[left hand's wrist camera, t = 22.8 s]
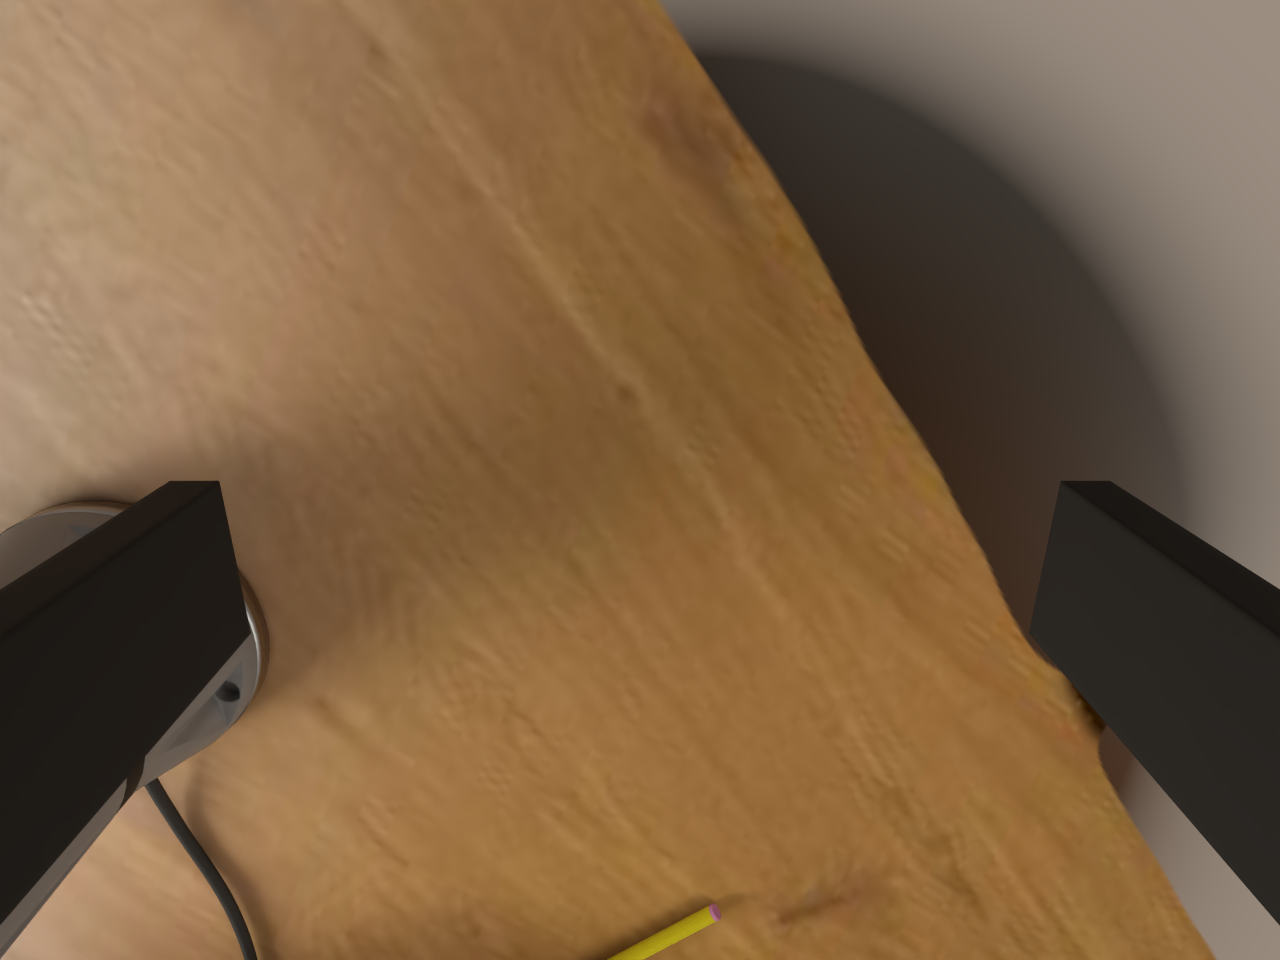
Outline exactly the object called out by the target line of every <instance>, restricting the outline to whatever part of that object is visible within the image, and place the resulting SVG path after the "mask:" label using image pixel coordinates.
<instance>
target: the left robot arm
mask: <svg viewBox="0 0 1280 960" xmlns="http://www.w3.org/2000/svg"><path fill="white" fill-rule="evenodd" d="M1029 634H1030V635H1031V636H1032V637H1033V639H1034V640H1035V641H1036V642H1037V643H1038V644H1039V646H1040V647H1041V648H1042V649H1043V650H1044V651H1045V653H1046V654H1047V655H1048V656H1049V657H1050V658H1051V660H1052V661H1053V662H1054V663H1055V664H1056V665H1057V667H1058V668H1059V669H1060V670H1061V671H1062V672H1063V674H1064V675H1065V676H1066V677H1067V678H1068V679H1069V681H1070V682H1071V683H1072V684H1073V685H1074V686H1075V688H1076V689H1077V690H1078V691H1079V692H1080V693H1081V695H1082V696H1083V697H1084V698H1085V699H1086V700H1087V702H1088V703H1089V704H1090V705H1091V706H1092V707H1093V709H1094V710H1095V711H1096V712H1097V713H1098V714H1099V715H1100V717H1101V718H1102V719H1103V720H1104V721H1105V722H1106V724H1107V725H1108V726H1109V727H1110V728H1111V729H1112V731H1113V732H1114V733H1115V734H1116V735H1117V736H1118V738H1119V739H1120V740H1121V741H1122V742H1123V743H1124V745H1125V746H1126V747H1127V748H1128V749H1129V750H1130V752H1131V753H1132V754H1133V755H1134V756H1135V757H1136V759H1137V760H1138V761H1139V762H1140V763H1141V764H1142V765H1143V767H1144V768H1145V769H1146V770H1147V771H1148V773H1149V774H1150V775H1151V776H1152V777H1153V778H1154V780H1155V781H1156V782H1157V783H1158V784H1159V785H1160V786H1161V788H1162V789H1163V790H1164V791H1165V792H1166V794H1167V795H1168V796H1169V797H1170V798H1171V799H1172V800H1173V802H1174V803H1175V804H1176V805H1177V806H1178V807H1179V809H1180V810H1181V811H1182V812H1183V813H1184V814H1185V816H1186V817H1187V818H1188V819H1189V820H1190V821H1191V823H1192V824H1193V825H1194V826H1195V827H1196V828H1197V830H1198V831H1199V832H1200V833H1201V834H1202V835H1203V837H1204V838H1205V839H1206V840H1207V841H1208V842H1209V844H1210V845H1211V846H1212V847H1213V848H1214V849H1215V851H1216V852H1217V853H1218V854H1219V855H1220V856H1221V858H1222V859H1223V860H1224V861H1225V862H1226V863H1227V865H1228V866H1229V867H1230V868H1231V869H1232V870H1233V872H1234V873H1235V874H1236V875H1237V876H1238V877H1239V879H1240V880H1241V881H1242V882H1243V883H1244V884H1245V885H1246V887H1247V888H1248V889H1249V890H1250V891H1251V892H1252V894H1253V895H1254V896H1255V897H1256V898H1257V899H1258V901H1259V902H1260V903H1261V904H1262V905H1263V906H1264V908H1265V909H1266V910H1267V911H1268V912H1269V913H1270V915H1271V916H1272V917H1273V918H1274V919H1275V920H1276V922H1277V923H1278V924H1279V925H1280V589H1278V588H1277V587H1275V586H1273V585H1272V584H1270V583H1269V582H1267V581H1266V580H1264V579H1263V578H1261V577H1259V576H1258V575H1256V574H1255V573H1253V572H1252V571H1250V570H1248V569H1247V568H1245V567H1244V566H1242V565H1241V564H1239V563H1237V562H1236V561H1234V560H1233V559H1231V558H1230V557H1228V556H1227V555H1225V554H1223V553H1222V552H1220V551H1219V550H1217V549H1216V548H1214V547H1212V546H1211V545H1209V544H1208V543H1206V542H1205V541H1203V540H1202V539H1200V538H1198V537H1197V536H1195V535H1194V534H1192V533H1191V532H1189V531H1187V530H1186V529H1184V528H1183V527H1181V526H1180V525H1178V524H1177V523H1175V522H1173V521H1172V520H1170V519H1169V518H1167V517H1166V516H1164V515H1162V514H1161V513H1159V512H1158V511H1156V510H1155V509H1153V508H1151V507H1150V506H1148V505H1147V504H1145V503H1144V502H1142V501H1141V500H1139V499H1137V498H1136V497H1134V496H1133V495H1131V494H1130V493H1128V492H1126V491H1125V490H1123V489H1122V488H1120V487H1119V486H1117V485H1116V484H1114V483H1112V482H1111V481H1061V483H1060V487H1059V492H1058V497H1057V502H1056V506H1055V511H1054V516H1053V521H1052V526H1051V530H1050V535H1049V540H1048V545H1047V549H1046V554H1045V559H1044V564H1043V568H1042V573H1041V578H1040V583H1039V588H1038V592H1037V597H1036V602H1035V607H1034V611H1033V616H1032V621H1031V626H1030V630H1029ZM268 661H269V636H268V631H267V625H266V622H265V618H264V615H263V612H262V610H261V607H260V605H259V602H258V600H257V598H256V596H255V594H254V593H253V591H252V589H251V587H250V586H249V584H248V583H247V581H246V580H245V578H244V577H243V576H242V574H241V573H240V572H239V571H238V568H237V564H236V559H235V554H234V549H233V545H232V540H231V535H230V530H229V525H228V521H227V516H226V511H225V506H224V502H223V497H222V492H221V487H220V483H219V481H169V482H168V483H166V484H164V485H163V486H161V487H160V488H158V489H157V490H155V491H154V492H152V493H150V494H149V495H147V496H146V497H144V498H143V499H141V500H139V501H138V502H136V503H135V504H133V505H128V504H122V503H116V502H106V501H82V502H72V503H67V504H61V505H57V506H54V507H50V508H47V509H45V510H42V511H40V512H37V513H35V514H34V515H32V516H30V517H28V518H26V519H24V520H23V521H21V522H19V523H17V524H15V525H14V526H12V527H10V528H8V529H6V530H5V531H4V532H2V533H1V534H0V959H1V957H2V956H3V955H4V954H5V952H6V951H7V950H8V949H9V947H10V946H11V945H12V944H13V942H14V941H15V940H16V939H17V937H18V936H19V935H20V934H21V932H22V931H23V930H24V929H25V927H26V926H27V925H28V924H29V922H30V921H31V920H32V919H33V917H34V916H35V915H36V914H37V912H38V911H39V910H40V909H41V907H42V906H43V905H44V904H45V902H46V901H47V900H48V899H49V897H50V896H51V895H52V894H53V892H54V891H55V890H56V889H57V888H58V886H59V885H60V884H61V883H62V881H63V880H64V879H65V878H66V876H67V875H68V874H69V873H70V871H71V870H72V869H73V868H74V866H75V865H76V864H77V863H78V861H79V860H80V859H81V858H82V856H83V855H84V854H85V853H86V851H87V850H88V849H89V848H90V846H91V845H92V844H93V843H94V841H95V840H96V839H97V838H98V836H99V835H100V834H101V833H102V831H103V830H104V829H105V828H106V826H107V825H108V824H109V823H110V821H111V820H112V819H113V817H114V816H115V815H116V813H117V812H118V811H119V810H120V809H121V807H122V806H123V805H124V804H125V803H126V801H127V800H128V799H129V798H130V797H131V796H132V794H133V793H134V792H135V791H137V790H138V789H140V788H141V787H143V786H145V788H146V789H147V791H148V793H149V794H150V796H151V798H152V799H153V801H154V802H155V804H156V806H157V807H158V809H159V810H160V812H161V813H162V815H163V816H164V818H165V819H166V821H167V823H168V824H169V826H170V827H171V829H172V830H173V832H174V833H175V835H176V836H177V838H178V839H179V841H180V842H181V844H182V845H183V847H184V848H185V849H186V851H187V852H188V854H189V855H190V857H191V858H192V859H193V861H194V862H195V864H196V865H197V866H198V868H199V869H200V871H201V872H202V874H203V875H204V877H205V878H206V880H207V881H208V883H209V884H210V886H211V887H212V889H213V891H214V892H215V894H216V896H217V897H218V899H219V901H220V902H221V904H222V906H223V908H224V910H225V912H226V914H227V916H228V918H229V920H230V922H231V924H232V927H233V929H234V931H235V934H236V936H237V939H238V941H239V944H240V947H241V950H242V953H243V956H244V960H257V956H256V952H255V949H254V946H253V942H252V939H251V936H250V934H249V931H248V928H247V926H246V923H245V921H244V919H243V916H242V914H241V912H240V910H239V907H238V905H237V903H236V901H235V899H234V898H233V896H232V894H231V892H230V890H229V889H228V887H227V885H226V883H225V882H224V880H223V879H222V877H221V875H220V874H219V872H218V871H217V869H216V868H215V866H214V865H213V863H212V862H211V860H210V859H209V857H208V856H207V855H206V853H205V852H204V850H203V849H202V847H201V846H200V844H199V843H198V842H197V840H196V839H195V837H194V836H193V834H192V833H191V831H190V830H189V828H188V827H187V825H186V824H185V822H184V821H183V819H182V817H181V816H180V814H179V813H178V811H177V809H176V808H175V806H174V805H173V803H172V801H171V800H170V798H169V796H168V795H167V793H166V791H165V790H164V788H163V786H162V785H161V783H160V781H159V779H158V778H157V777H159V776H161V775H162V774H164V773H165V772H167V771H169V770H170V769H172V768H173V767H175V766H177V765H178V764H180V763H181V762H183V761H185V760H186V759H188V758H189V757H191V756H193V755H194V754H196V753H198V752H199V751H201V750H202V749H204V748H206V747H207V746H209V745H210V744H212V743H213V742H214V741H216V740H217V739H218V738H219V737H220V736H221V735H223V734H224V733H225V732H226V731H227V730H228V729H229V728H230V727H231V726H232V725H233V724H234V723H235V722H236V721H237V720H238V719H239V718H240V716H241V715H242V714H243V713H244V711H245V710H246V709H247V707H248V706H249V705H250V703H251V702H252V701H253V699H254V698H255V696H256V694H257V693H258V691H259V689H260V687H261V685H262V683H263V681H264V678H265V674H266V671H267V666H268Z"/></svg>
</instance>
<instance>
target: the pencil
mask: <svg viewBox="0 0 1280 960" xmlns="http://www.w3.org/2000/svg"><path fill="white" fill-rule="evenodd" d="M720 918H721V915H720V911H719V909H718V907H717V906H716V905H715V904H714V903H713V904H711V905H709V906H707V907H705V908H703V909H701V910H699V911H697V912H696V913H694V914H692V915H690V916H688V917H686V918H684V919H682V920H680V921H679V922H677V923H675V924H673V925H671V926H669V927H667V928H665V929H663V930H662V931H660V932H658V933H656V934H654V935H652V936H650V937H648V938H647V939H645V940H643V941H641V942H639V943H637V944H635V945H633V946H631V947H630V948H628V949H626V950H624V951H622V952H620V953H618V954H616V955H614V956H613V957H611V958H609V959H607V960H643V959H645V958H647V957H649V956H651V955H653V954H655V953H657V952H659V951H660V950H662V949H664V948H666V947H668V946H670V945H672V944H674V943H676V942H678V941H680V940H681V939H683V938H685V937H687V936H689V935H691V934H693V933H695V932H697V931H699V930H701V929H702V928H704V927H706V926H708V925H710V924H712V923H714V922H716V921H718V920H720Z"/></svg>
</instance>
